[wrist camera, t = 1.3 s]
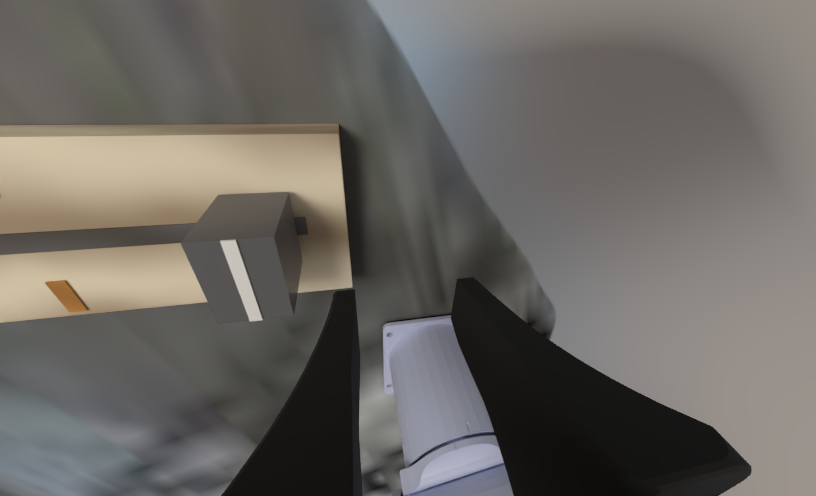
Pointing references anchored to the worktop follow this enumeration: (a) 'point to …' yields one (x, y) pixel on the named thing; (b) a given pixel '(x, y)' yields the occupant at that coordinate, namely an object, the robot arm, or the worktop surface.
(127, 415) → the worktop surface
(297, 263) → the fader knob
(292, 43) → the worktop surface
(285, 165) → the fader console
